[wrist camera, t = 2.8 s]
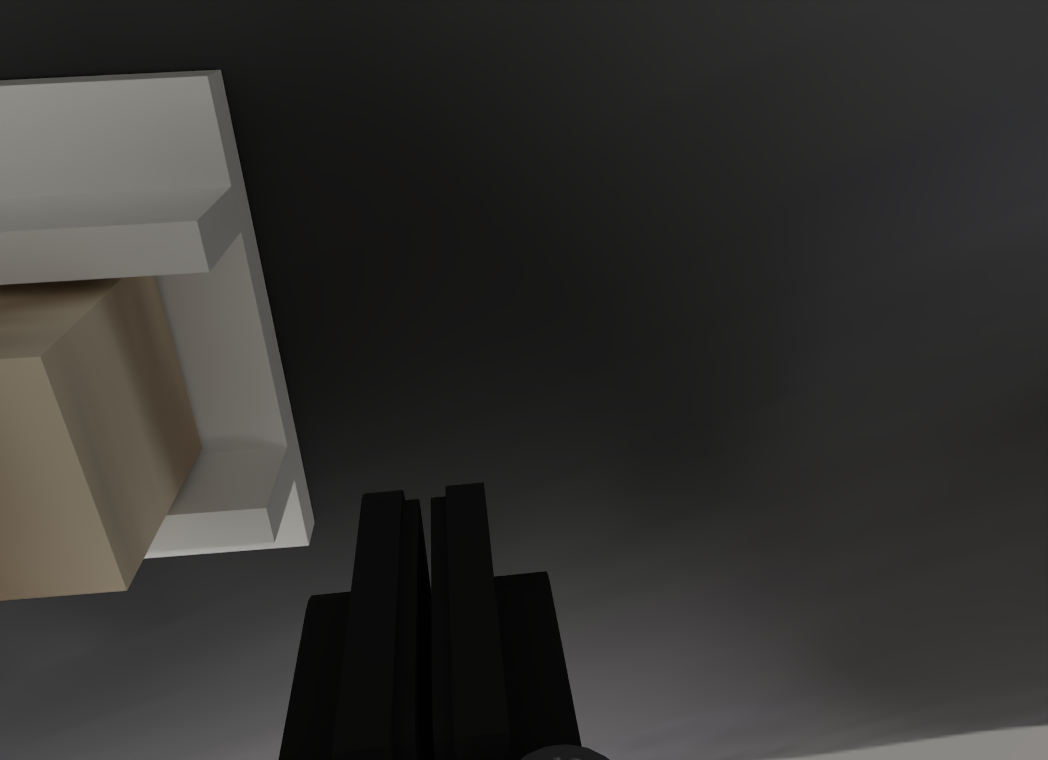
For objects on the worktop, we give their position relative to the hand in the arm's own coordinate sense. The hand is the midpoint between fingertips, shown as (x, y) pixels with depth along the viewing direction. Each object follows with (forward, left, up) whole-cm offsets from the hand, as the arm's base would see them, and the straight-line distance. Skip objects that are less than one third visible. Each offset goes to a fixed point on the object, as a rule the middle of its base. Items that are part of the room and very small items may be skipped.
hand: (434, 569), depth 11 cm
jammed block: (+9, 0, -8) cm, 12 cm away
